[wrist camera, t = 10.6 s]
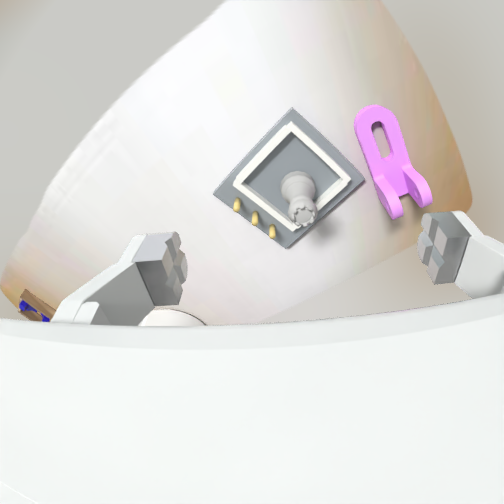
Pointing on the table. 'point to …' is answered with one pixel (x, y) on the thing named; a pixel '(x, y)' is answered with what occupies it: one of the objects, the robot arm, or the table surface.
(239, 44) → the table surface
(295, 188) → the rook chess piece
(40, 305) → the box
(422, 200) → the bracket
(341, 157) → the board
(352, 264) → the table surface
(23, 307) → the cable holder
